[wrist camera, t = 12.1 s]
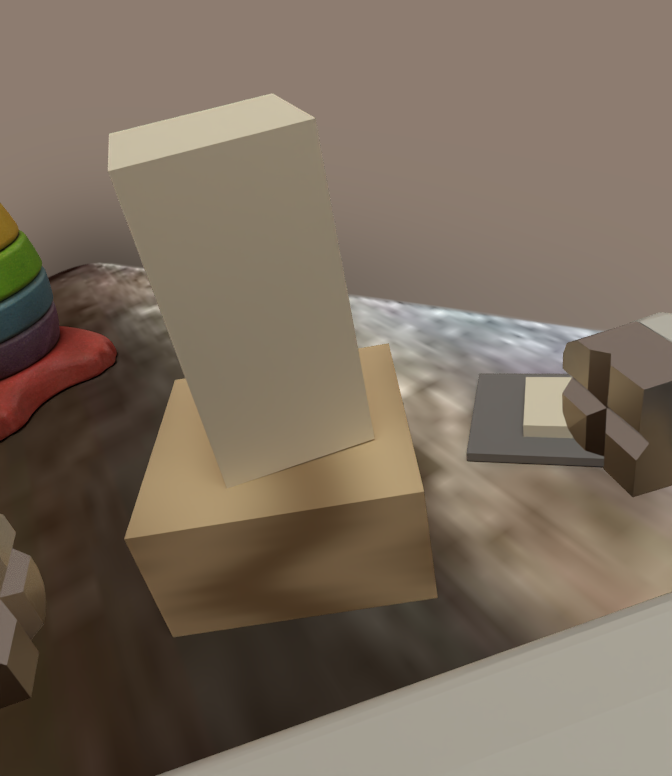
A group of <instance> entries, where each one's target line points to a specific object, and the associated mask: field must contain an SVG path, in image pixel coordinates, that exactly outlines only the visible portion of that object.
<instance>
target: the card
mask: <svg viewBox="0 0 672 776" xmlns="http://www.w3.org/2000/svg"><path fill="white" fill-rule="evenodd" d="M571 378H572V377H571V376H570V375H569V374H479V379H478V385H477V392H476V398H475V404H474V410H473V417H472V423H471V429H470V436H469V442H468V448H467V461H487V462H510V463H532V464H555V465H577V466H600V467H604V456H600V455H597V454H594V453H591V452H588V451H585V450H584V449H583V448H582V447H581V446H580V445H579V444H578V443H577V442H576V441H575V439H574V438H573V436H572V434H571V433H570V431H569V430H568V427H567V424H566V421H565V418H564V415H563V412H562V393H563V391H564V390H565V388H566V386H567V385H568V383H569V382H570V380H571Z"/></svg>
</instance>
